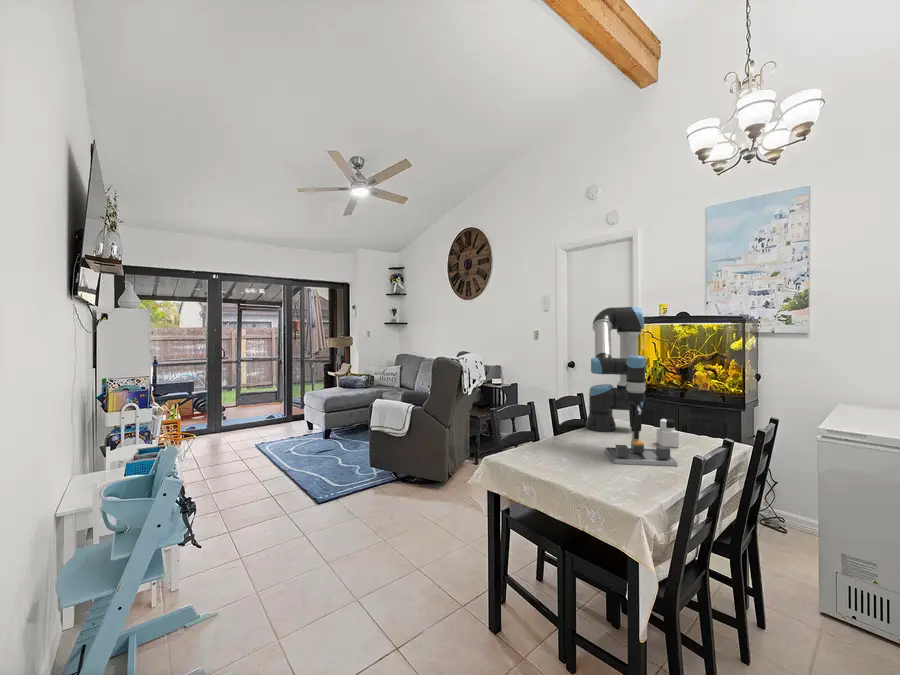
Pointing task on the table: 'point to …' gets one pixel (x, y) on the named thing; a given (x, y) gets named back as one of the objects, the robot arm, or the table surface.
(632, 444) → the block
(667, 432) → the medicine bottle
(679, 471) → the table surface
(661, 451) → the block
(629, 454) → the panel
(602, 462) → the table surface
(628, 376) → the robot arm
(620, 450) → the breaker
